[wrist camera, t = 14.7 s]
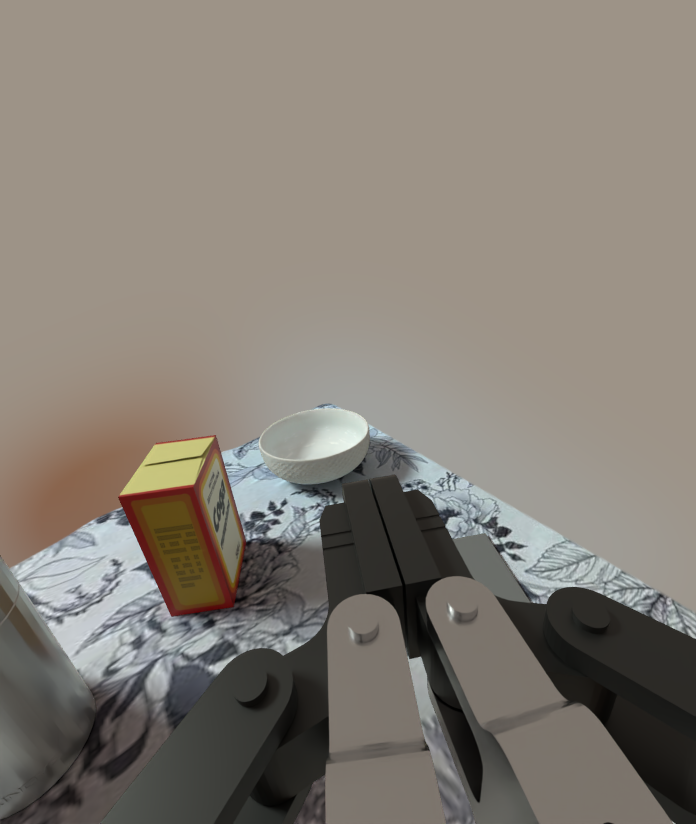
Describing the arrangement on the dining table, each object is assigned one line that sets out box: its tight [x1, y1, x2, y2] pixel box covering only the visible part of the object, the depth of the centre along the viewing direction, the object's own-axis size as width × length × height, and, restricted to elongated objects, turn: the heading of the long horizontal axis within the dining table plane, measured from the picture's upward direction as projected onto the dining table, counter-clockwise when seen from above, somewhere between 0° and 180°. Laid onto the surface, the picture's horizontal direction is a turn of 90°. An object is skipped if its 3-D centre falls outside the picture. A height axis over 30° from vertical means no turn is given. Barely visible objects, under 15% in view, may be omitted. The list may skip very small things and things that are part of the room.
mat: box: [452, 533, 530, 603], centre depth 41 cm, size 10×14×1 cm
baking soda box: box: [118, 435, 246, 616], centre depth 42 cm, size 10×6×16 cm
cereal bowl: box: [259, 409, 370, 484], centre depth 62 cm, size 17×17×7 cm
